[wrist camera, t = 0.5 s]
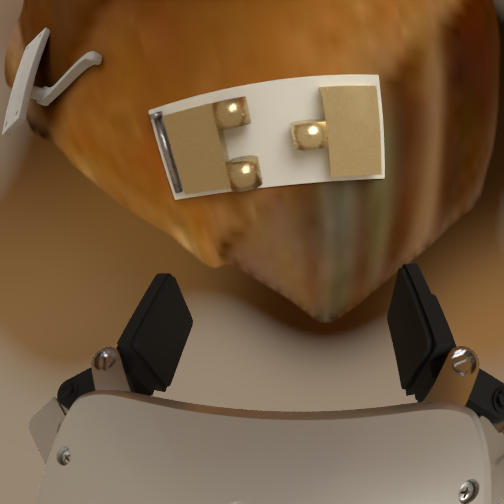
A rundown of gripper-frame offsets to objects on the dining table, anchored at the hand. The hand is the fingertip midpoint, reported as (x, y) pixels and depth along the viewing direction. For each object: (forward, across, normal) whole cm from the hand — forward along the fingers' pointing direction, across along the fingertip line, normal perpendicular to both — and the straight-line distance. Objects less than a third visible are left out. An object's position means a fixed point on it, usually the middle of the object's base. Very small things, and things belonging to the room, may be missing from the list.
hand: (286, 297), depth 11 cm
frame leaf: (+29, +11, -1) cm, 31 cm away
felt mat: (+29, +3, -1) cm, 29 cm away
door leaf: (+29, -7, -2) cm, 30 cm away
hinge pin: (+29, +18, -1) cm, 34 cm away
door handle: (+30, +35, -24) cm, 52 cm away
